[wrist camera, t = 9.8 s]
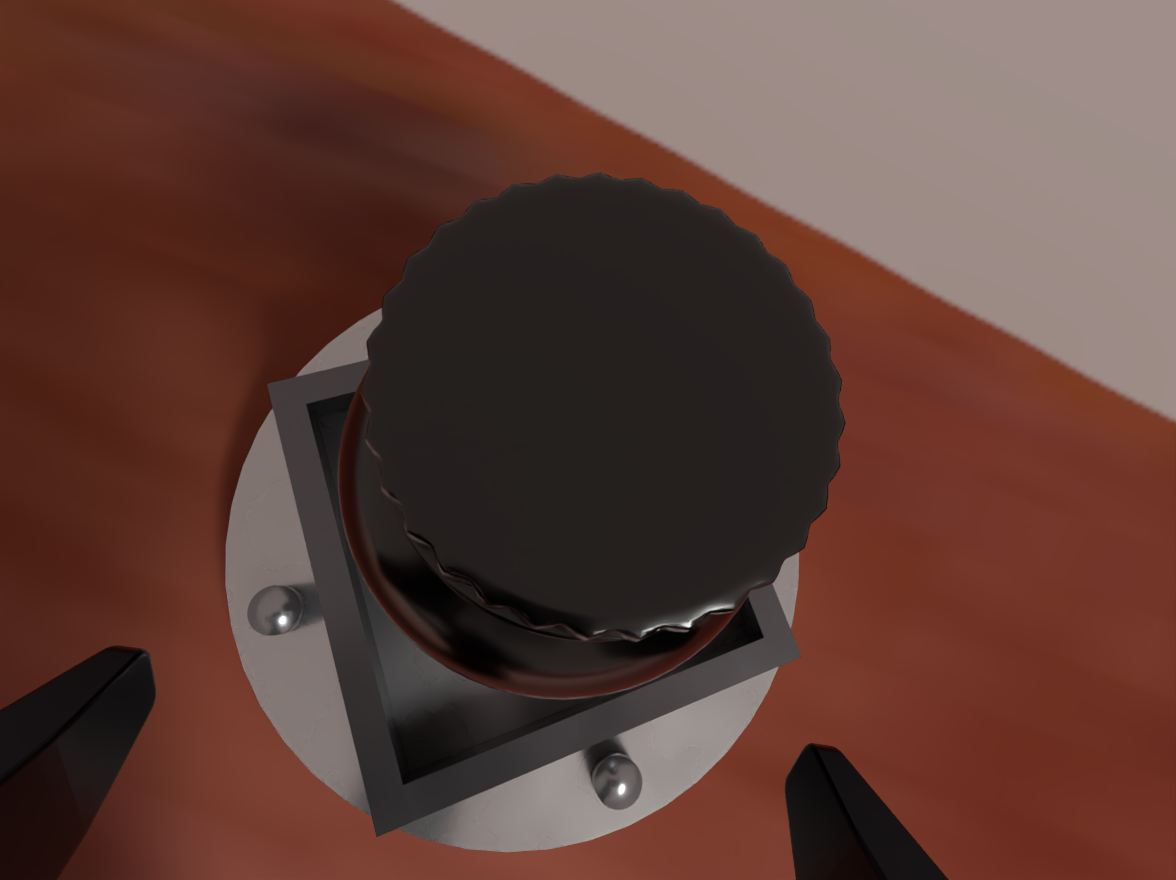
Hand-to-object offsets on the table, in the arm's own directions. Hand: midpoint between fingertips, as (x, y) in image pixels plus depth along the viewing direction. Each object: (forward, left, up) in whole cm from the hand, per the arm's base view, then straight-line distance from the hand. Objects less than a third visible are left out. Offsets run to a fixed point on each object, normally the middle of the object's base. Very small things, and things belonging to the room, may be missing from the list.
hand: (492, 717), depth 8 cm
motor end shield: (+2, +3, -10) cm, 10 cm away
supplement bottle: (+2, +3, -8) cm, 9 cm away
